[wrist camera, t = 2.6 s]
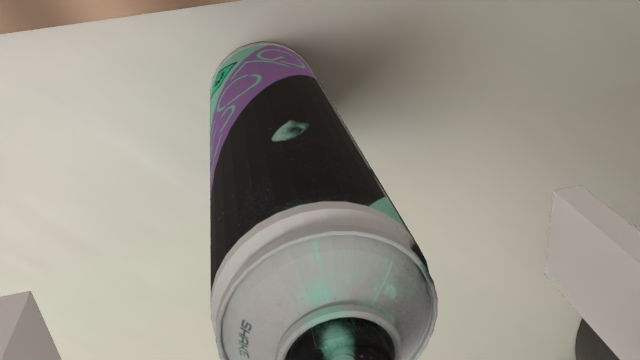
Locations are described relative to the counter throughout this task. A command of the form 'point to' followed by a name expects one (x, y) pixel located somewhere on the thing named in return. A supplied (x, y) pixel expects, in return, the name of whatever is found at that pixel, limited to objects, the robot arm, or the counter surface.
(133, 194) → the counter surface
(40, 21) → the socket board
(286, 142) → the spray can
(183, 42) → the counter surface
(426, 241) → the counter surface
